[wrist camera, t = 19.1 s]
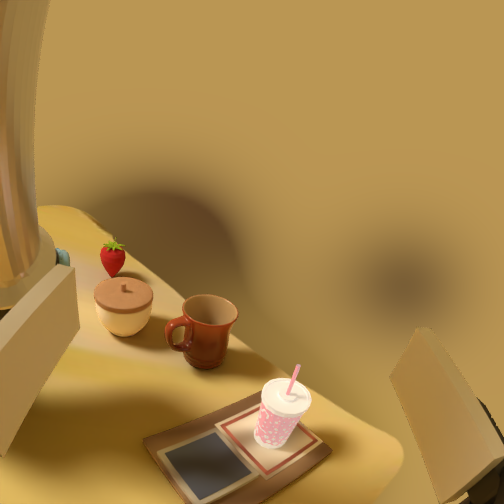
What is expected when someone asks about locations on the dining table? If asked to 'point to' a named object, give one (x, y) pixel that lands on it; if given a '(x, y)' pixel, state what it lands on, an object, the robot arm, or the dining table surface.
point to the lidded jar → (123, 305)
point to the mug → (203, 330)
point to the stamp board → (232, 456)
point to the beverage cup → (280, 410)
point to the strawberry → (112, 257)
